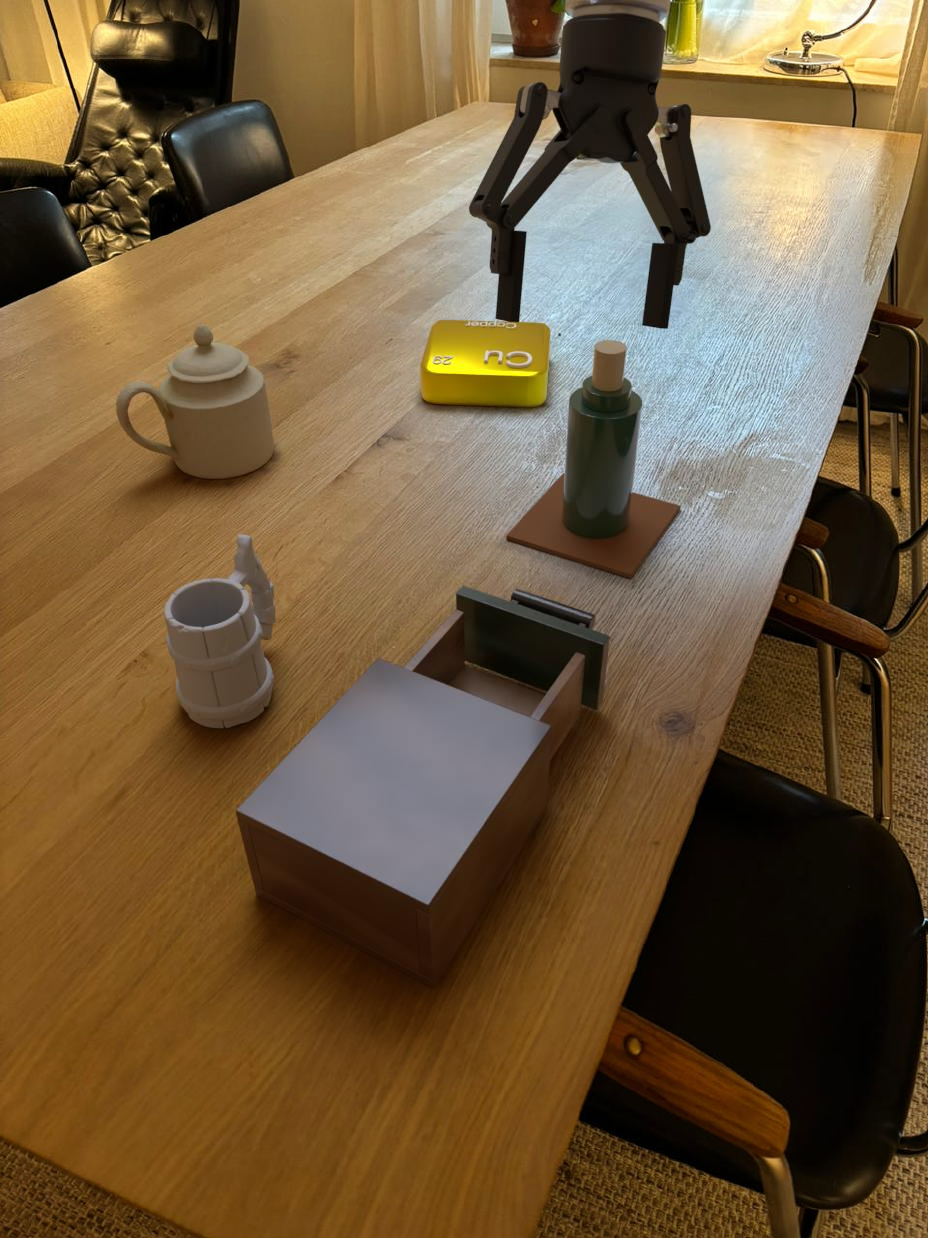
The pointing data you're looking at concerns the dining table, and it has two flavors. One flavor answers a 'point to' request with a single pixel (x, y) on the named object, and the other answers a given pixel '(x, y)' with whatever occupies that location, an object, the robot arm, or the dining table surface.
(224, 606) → the mug
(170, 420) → the sugar bowl
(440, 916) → the cabinet
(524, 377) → the element tile
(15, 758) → the dining table surface
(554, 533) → the cork mat
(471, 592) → the drawer
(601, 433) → the oil bottle
